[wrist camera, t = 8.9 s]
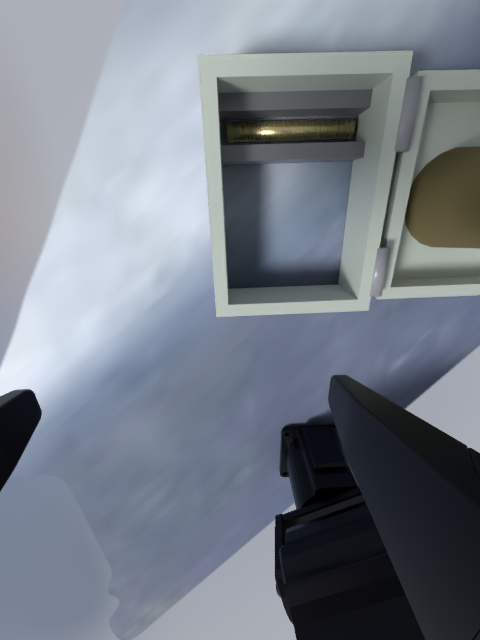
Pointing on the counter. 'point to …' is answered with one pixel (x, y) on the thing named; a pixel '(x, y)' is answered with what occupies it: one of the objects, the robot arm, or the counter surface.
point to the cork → (447, 200)
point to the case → (312, 157)
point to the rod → (290, 130)
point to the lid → (427, 143)
